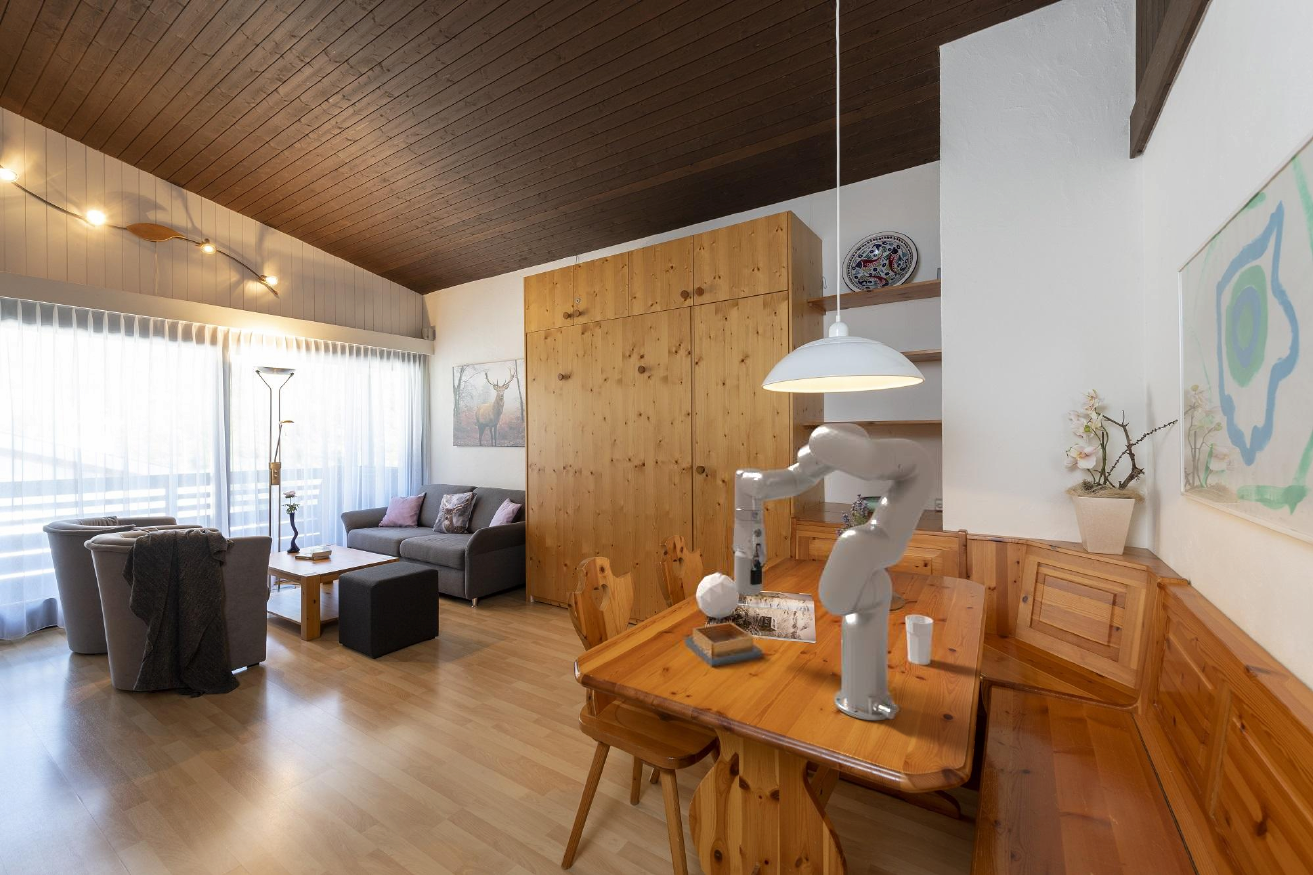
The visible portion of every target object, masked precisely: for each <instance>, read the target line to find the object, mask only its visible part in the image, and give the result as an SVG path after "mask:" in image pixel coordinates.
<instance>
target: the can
mask: <svg viewBox="0 0 1313 875" xmlns="http://www.w3.org/2000/svg"><path fill="white" fill-rule="evenodd" d="M734 557H735V560H734V573H733V575H734V580H733V581H734V588H735V590H736V591H737V592H738V593H739V595H744V596H755V595H756V596H757V595H759V594H760V593H761V592H762V591H763V584H764V583H763V580H764V579H763V575H764V574H763V572H764V571H763V570H764V568H763V569H762V584H758V585H751V584H750V575H751V570H752V566H751V561H750V560H749V559H748V557H747V556H746V554H745V551H744V550H740V549H739V548H737V551H736V552H735V556H734ZM753 557H754V558H755V557H759V556H758V555H753ZM757 561H758V560H754V562H755V564H756V563H757Z"/></svg>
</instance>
